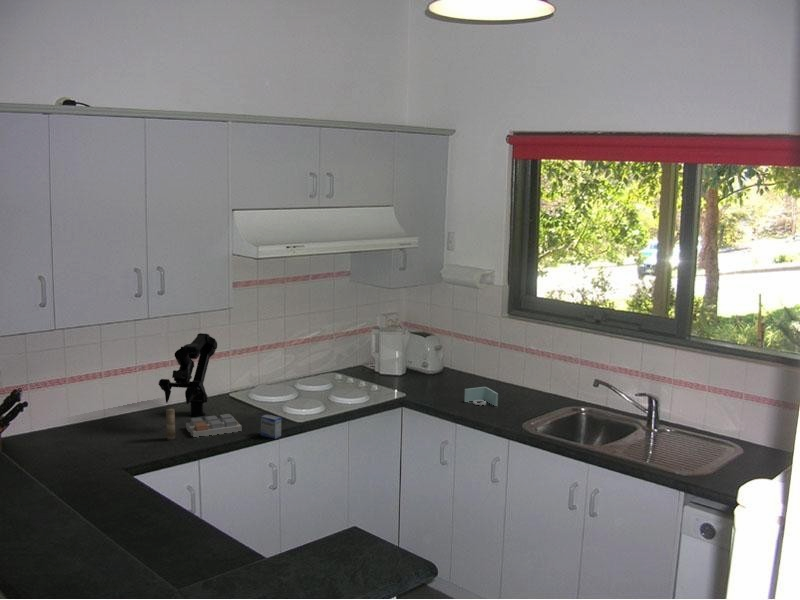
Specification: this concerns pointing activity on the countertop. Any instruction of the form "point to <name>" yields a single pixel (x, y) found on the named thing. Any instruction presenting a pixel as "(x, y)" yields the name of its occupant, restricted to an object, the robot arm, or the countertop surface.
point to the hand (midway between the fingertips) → (176, 403)
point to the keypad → (214, 425)
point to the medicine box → (270, 426)
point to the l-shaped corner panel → (481, 396)
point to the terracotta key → (200, 426)
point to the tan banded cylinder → (170, 424)
